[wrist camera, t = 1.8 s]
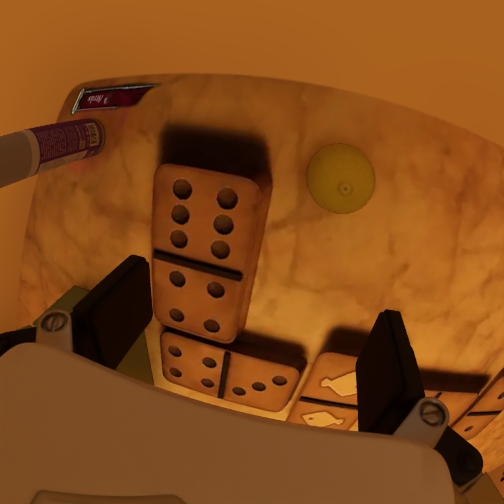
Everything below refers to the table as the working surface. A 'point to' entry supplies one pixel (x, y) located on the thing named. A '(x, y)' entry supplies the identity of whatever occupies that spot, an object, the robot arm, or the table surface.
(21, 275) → the table surface
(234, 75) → the table surface
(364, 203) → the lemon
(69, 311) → the carton
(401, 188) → the table surface
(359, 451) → the robot arm
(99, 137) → the container
